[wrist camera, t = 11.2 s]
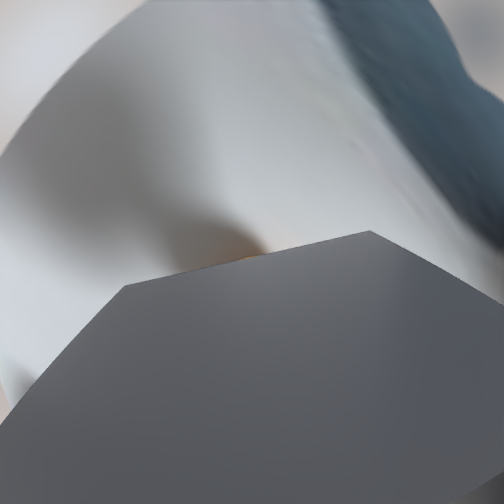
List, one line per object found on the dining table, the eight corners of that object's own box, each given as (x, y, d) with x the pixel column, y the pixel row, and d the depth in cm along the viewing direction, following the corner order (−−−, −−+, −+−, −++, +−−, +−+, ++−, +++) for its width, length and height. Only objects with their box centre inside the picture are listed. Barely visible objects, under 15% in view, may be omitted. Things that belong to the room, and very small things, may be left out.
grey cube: (369, 230, 9) (602, 378, 1) (378, 412, 11) (450, 567, 3) (124, 285, 9) (-41, 482, 1) (198, 448, 11) (177, 613, 3)
